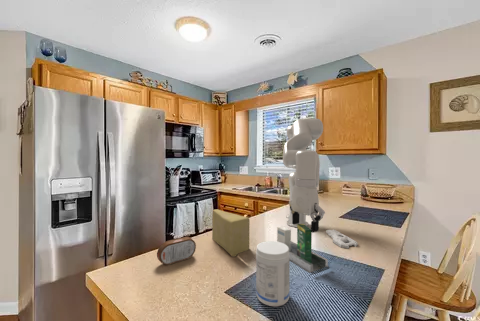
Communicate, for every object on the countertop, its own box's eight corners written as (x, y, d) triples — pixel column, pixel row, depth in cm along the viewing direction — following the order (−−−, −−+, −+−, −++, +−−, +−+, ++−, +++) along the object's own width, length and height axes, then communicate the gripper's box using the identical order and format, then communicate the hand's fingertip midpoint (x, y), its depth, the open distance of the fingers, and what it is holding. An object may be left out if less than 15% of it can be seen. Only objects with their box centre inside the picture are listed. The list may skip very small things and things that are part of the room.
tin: (193, 254, 91) (193, 234, 90) (197, 257, 88) (197, 236, 88) (156, 265, 81) (156, 243, 81) (159, 268, 79) (159, 245, 79)
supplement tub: (276, 284, 70) (277, 238, 69) (296, 302, 61) (297, 250, 61) (249, 292, 65) (250, 243, 65) (267, 312, 57) (267, 256, 57)
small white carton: (277, 247, 95) (277, 227, 95) (282, 246, 97) (283, 226, 97) (284, 252, 91) (284, 230, 91) (290, 250, 92) (290, 229, 92)
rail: (309, 275, 75) (309, 265, 75) (270, 251, 94) (270, 243, 94) (328, 268, 80) (328, 259, 80) (287, 246, 99) (288, 238, 99)
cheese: (204, 241, 105) (204, 210, 104) (221, 236, 111) (221, 207, 111) (232, 258, 87) (232, 220, 87) (250, 251, 94) (250, 216, 93)
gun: (319, 228, 114) (336, 227, 116) (319, 235, 114) (336, 233, 116) (344, 244, 96) (363, 242, 99) (343, 251, 96) (362, 249, 99)
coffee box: (296, 255, 88) (296, 223, 87) (303, 255, 88) (303, 222, 88) (304, 265, 80) (304, 229, 79) (311, 265, 80) (312, 229, 80)
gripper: (282, 181, 89) (282, 222, 89) (316, 187, 73) (315, 237, 74) (296, 179, 92) (296, 219, 93) (331, 185, 77) (330, 233, 78)
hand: (304, 227), depth 84 cm, fingers open, 9 cm apart
